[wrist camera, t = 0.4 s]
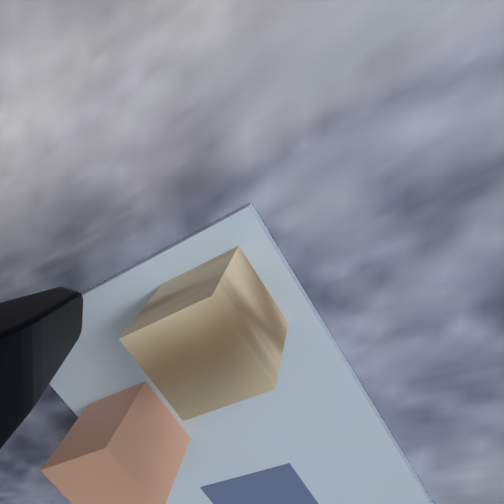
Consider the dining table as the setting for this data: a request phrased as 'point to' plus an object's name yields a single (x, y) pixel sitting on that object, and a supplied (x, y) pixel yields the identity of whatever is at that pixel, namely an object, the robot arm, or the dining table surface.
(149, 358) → the maple block
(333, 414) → the build board
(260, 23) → the dining table surface
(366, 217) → the dining table surface
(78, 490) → the terracotta block
